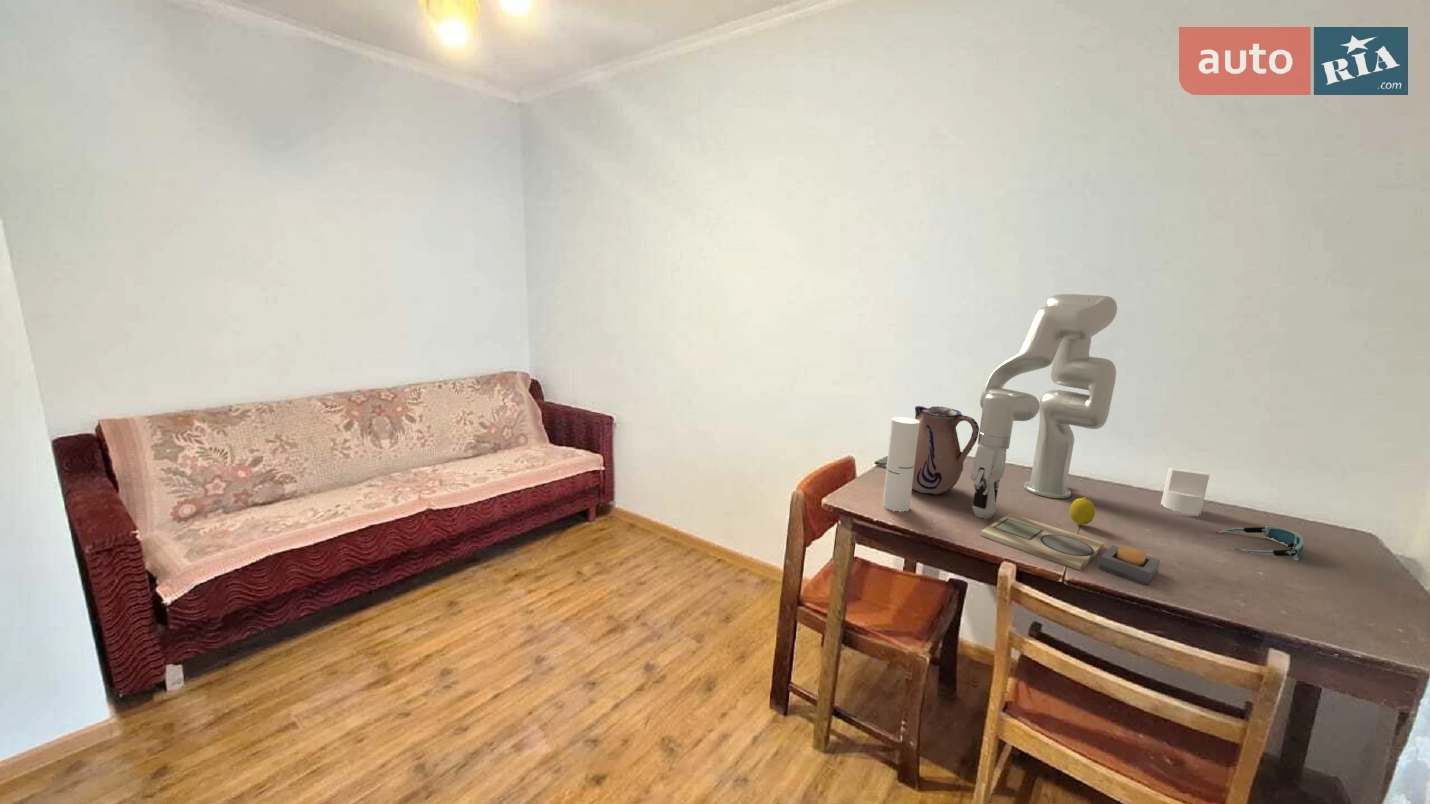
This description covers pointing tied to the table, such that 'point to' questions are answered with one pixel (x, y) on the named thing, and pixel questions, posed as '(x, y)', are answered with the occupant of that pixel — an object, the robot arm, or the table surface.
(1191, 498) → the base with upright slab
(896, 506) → the cylindrical container
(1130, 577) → the button housing
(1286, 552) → the sunglasses
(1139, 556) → the button
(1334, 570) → the table surface
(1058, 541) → the picture board
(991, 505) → the salt shaker
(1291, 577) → the table surface
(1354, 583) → the table surface
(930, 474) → the ceramic pitcher
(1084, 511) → the lemon
